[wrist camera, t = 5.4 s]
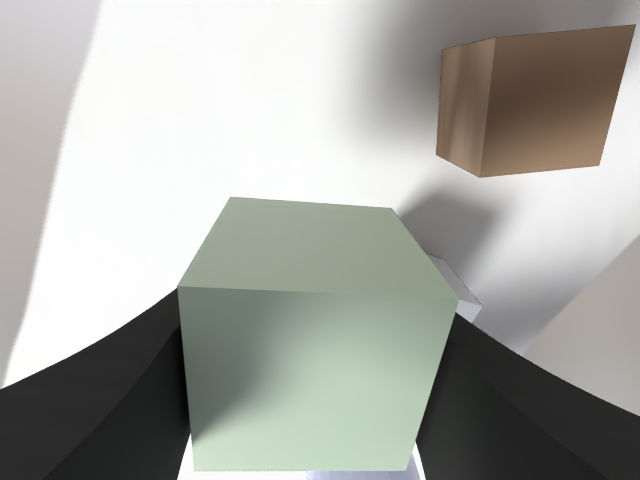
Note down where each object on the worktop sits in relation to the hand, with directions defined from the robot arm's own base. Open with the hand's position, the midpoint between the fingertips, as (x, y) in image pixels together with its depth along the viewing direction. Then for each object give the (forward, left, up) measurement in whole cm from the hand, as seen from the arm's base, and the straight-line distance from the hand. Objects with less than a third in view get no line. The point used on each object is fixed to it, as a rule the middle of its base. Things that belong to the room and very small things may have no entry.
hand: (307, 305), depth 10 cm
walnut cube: (+6, -9, -10) cm, 15 cm away
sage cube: (0, 0, -2) cm, 2 cm away
